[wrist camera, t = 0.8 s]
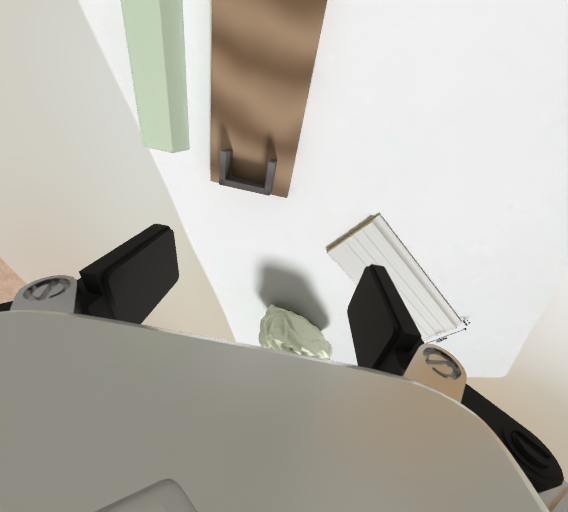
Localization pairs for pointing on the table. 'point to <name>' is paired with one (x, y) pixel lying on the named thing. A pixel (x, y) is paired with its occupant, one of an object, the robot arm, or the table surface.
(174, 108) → the slat
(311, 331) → the wavy plaster lump
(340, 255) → the baseboard molding
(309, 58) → the endcap board
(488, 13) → the table surface
